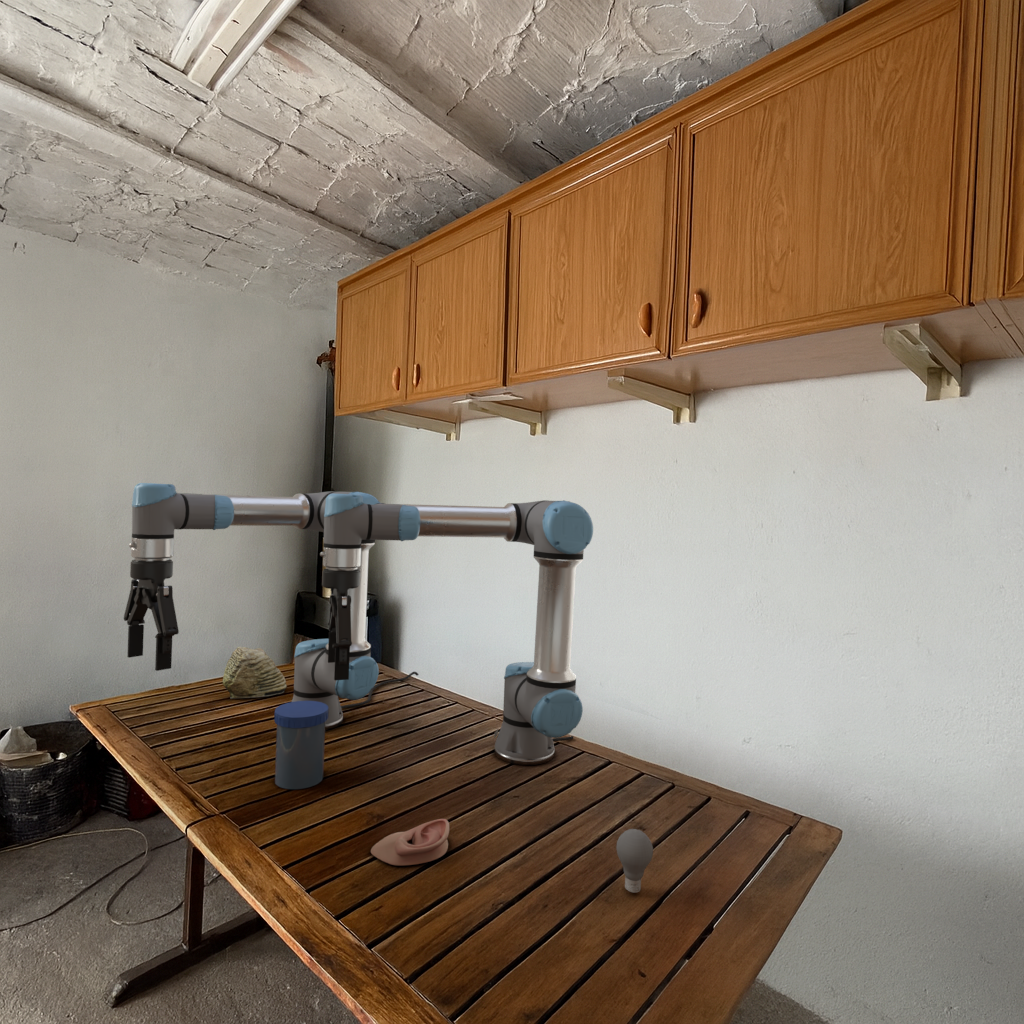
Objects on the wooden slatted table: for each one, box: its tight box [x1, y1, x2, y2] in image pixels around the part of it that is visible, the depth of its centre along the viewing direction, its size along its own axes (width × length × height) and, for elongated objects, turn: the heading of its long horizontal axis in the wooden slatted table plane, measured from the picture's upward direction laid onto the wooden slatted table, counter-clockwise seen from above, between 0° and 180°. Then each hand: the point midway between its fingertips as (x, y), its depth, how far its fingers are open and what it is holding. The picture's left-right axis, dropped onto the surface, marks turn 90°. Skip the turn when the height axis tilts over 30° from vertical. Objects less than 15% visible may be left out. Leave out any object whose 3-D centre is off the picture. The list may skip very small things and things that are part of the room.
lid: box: [273, 701, 329, 728], centre depth 141 cm, size 11×12×2 cm
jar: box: [274, 722, 326, 790], centre depth 142 cm, size 10×10×15 cm
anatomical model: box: [370, 818, 450, 867], centre depth 115 cm, size 13×4×12 cm
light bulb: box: [615, 828, 654, 894], centre depth 106 cm, size 6×6×10 cm
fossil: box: [222, 646, 288, 699], centre depth 198 cm, size 9×18×15 cm, turn 132°
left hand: (148, 662), depth 129 cm, fingers open, 13 cm apart
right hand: (337, 670), depth 131 cm, fingers open, 13 cm apart
